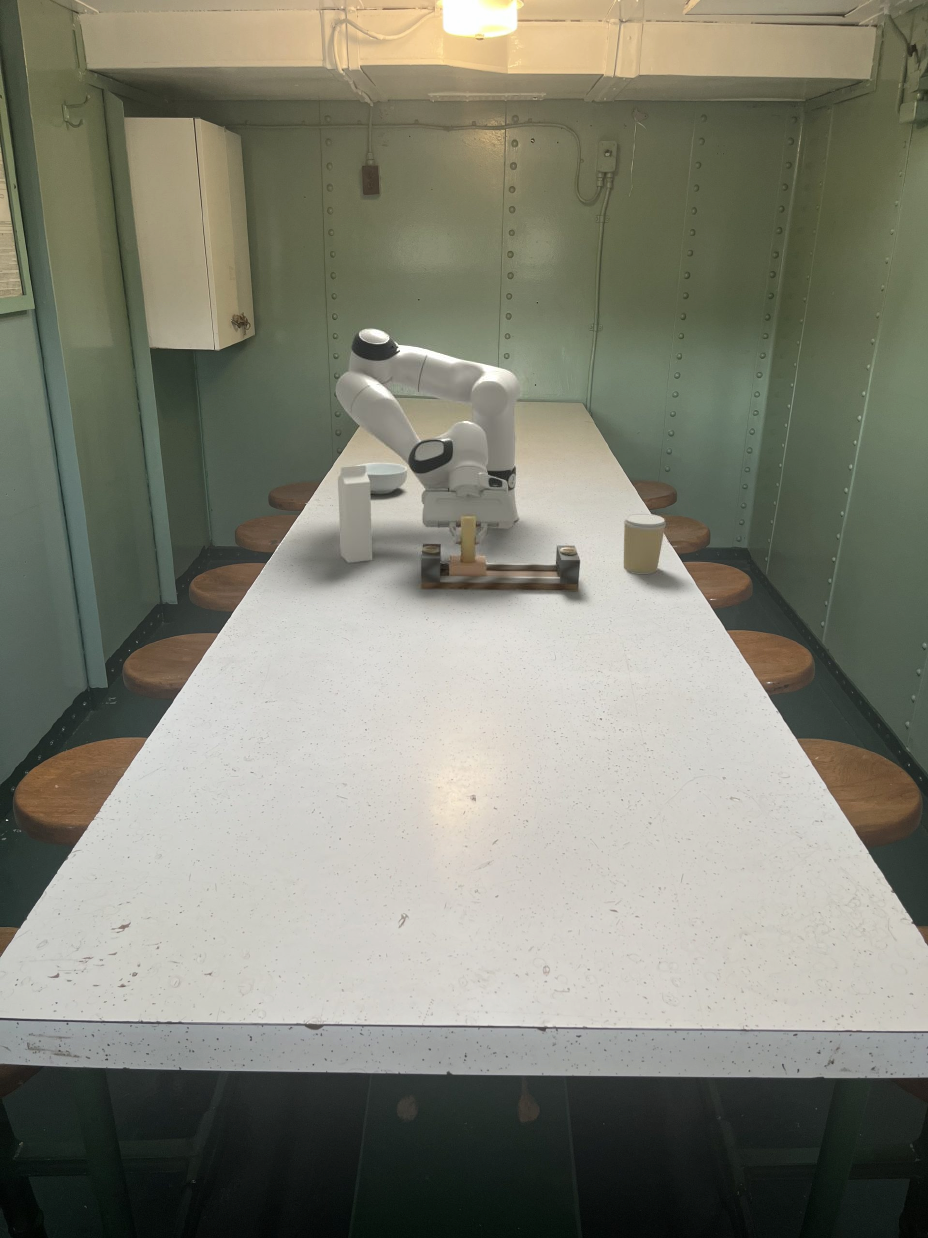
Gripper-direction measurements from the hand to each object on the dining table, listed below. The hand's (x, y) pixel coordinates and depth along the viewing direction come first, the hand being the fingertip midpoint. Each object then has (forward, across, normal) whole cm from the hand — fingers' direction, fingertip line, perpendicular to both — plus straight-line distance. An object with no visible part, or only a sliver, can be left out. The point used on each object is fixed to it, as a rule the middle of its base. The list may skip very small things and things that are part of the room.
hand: (468, 543), depth 190 cm
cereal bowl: (-49, -26, +62) cm, 83 cm away
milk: (-5, -26, +18) cm, 32 cm away
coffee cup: (-1, +40, +14) cm, 43 cm away
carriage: (+5, 0, +6) cm, 7 cm away
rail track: (+6, +7, +7) cm, 11 cm away
